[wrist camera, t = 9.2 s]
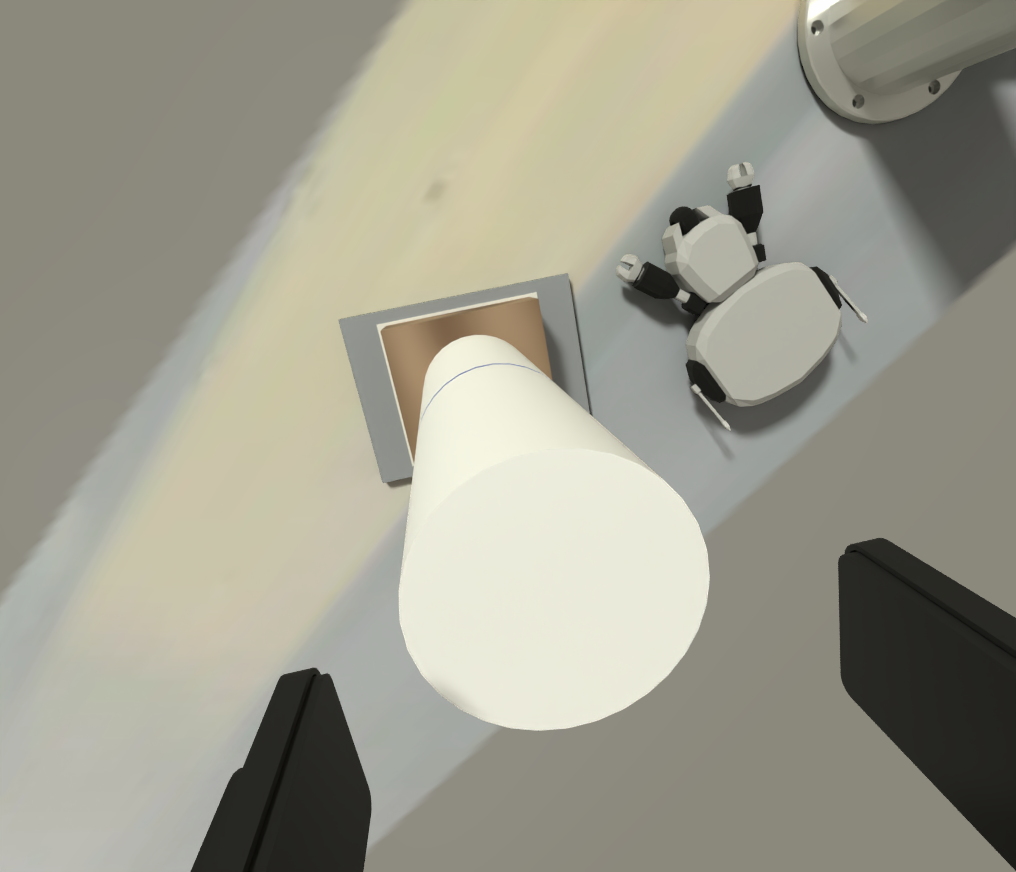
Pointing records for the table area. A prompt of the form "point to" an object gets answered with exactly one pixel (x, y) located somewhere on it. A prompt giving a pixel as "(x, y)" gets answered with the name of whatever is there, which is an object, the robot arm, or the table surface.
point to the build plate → (366, 328)
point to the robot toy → (741, 301)
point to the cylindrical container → (539, 550)
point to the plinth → (426, 337)
